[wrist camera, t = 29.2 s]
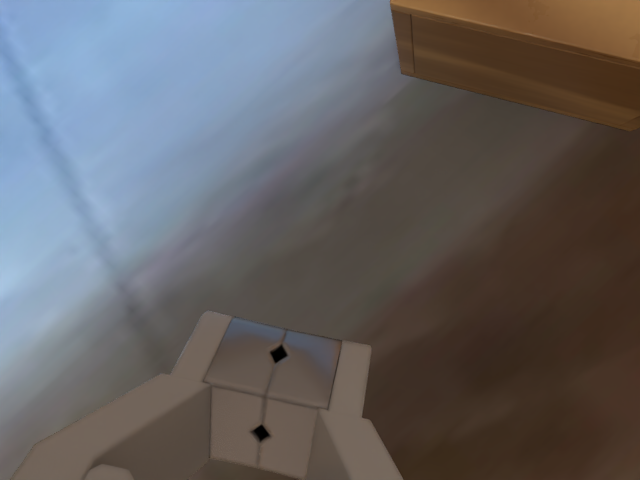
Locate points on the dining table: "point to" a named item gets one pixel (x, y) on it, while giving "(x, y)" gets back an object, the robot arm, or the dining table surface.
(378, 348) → the dining table surface
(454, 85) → the chest
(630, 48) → the lid
